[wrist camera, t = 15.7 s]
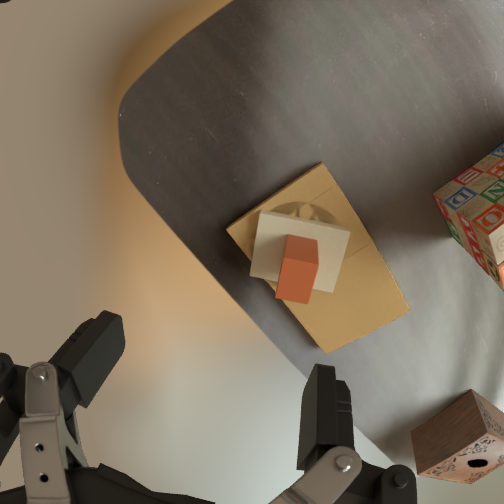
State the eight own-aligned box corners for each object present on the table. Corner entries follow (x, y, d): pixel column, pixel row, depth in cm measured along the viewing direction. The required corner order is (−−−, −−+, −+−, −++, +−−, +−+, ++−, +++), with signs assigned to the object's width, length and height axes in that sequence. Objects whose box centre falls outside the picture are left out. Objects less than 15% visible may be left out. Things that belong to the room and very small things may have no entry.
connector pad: (253, 265, 34) (238, 304, 27) (263, 206, 31) (249, 232, 24) (331, 281, 33) (335, 324, 26) (347, 223, 30) (359, 255, 23)
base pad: (228, 225, 33) (224, 230, 32) (321, 161, 29) (322, 163, 27) (324, 347, 38) (324, 354, 36) (407, 304, 33) (410, 311, 32)
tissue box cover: (511, 418, 40) (522, 450, 31) (463, 452, 46) (470, 483, 37) (471, 388, 37) (487, 432, 28) (410, 431, 43) (417, 474, 34)
